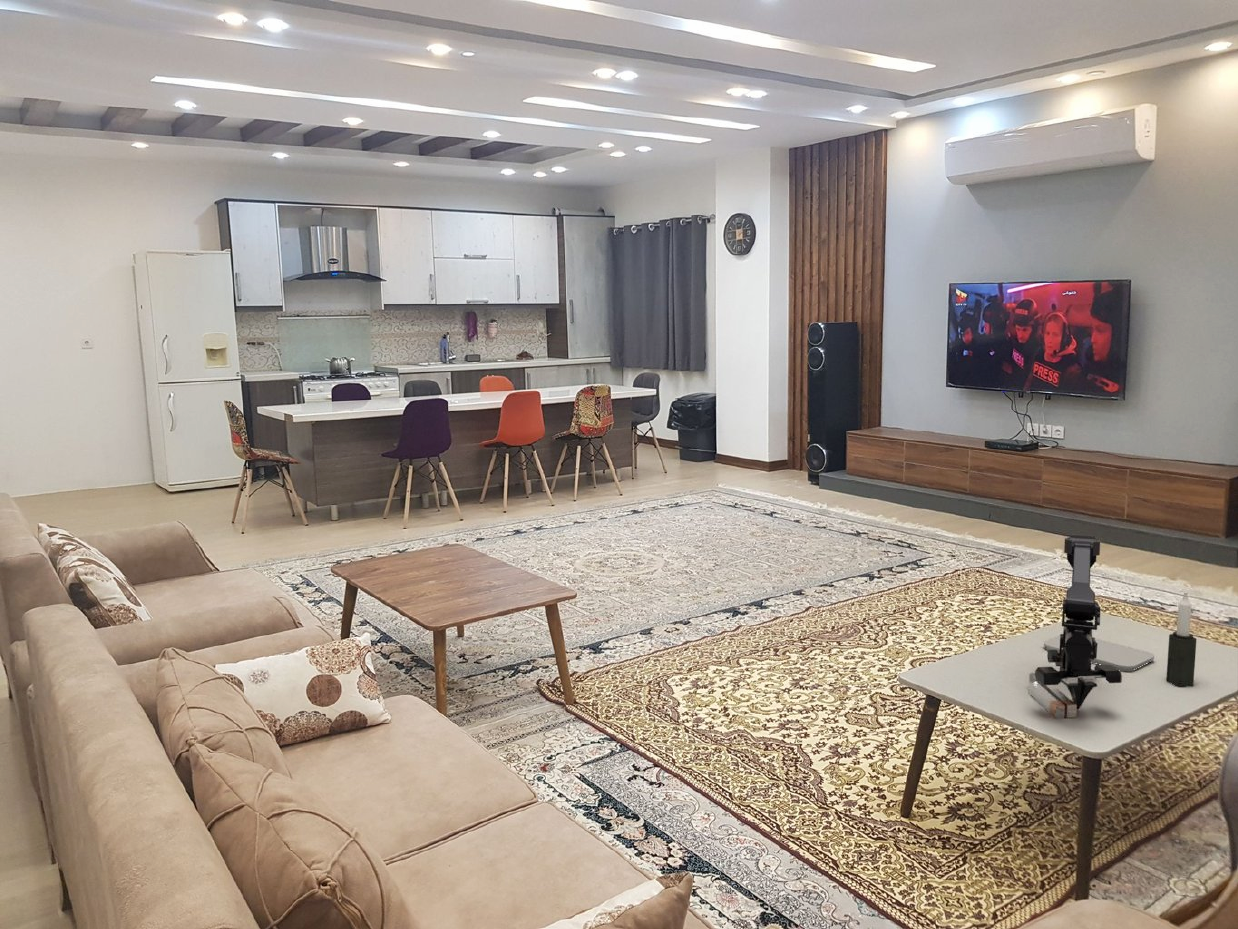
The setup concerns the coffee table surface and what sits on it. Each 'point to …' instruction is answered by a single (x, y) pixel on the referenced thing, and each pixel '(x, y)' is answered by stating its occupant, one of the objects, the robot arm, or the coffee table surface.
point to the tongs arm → (1062, 700)
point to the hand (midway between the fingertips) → (1077, 708)
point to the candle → (1182, 648)
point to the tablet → (1111, 654)
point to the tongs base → (1045, 697)
